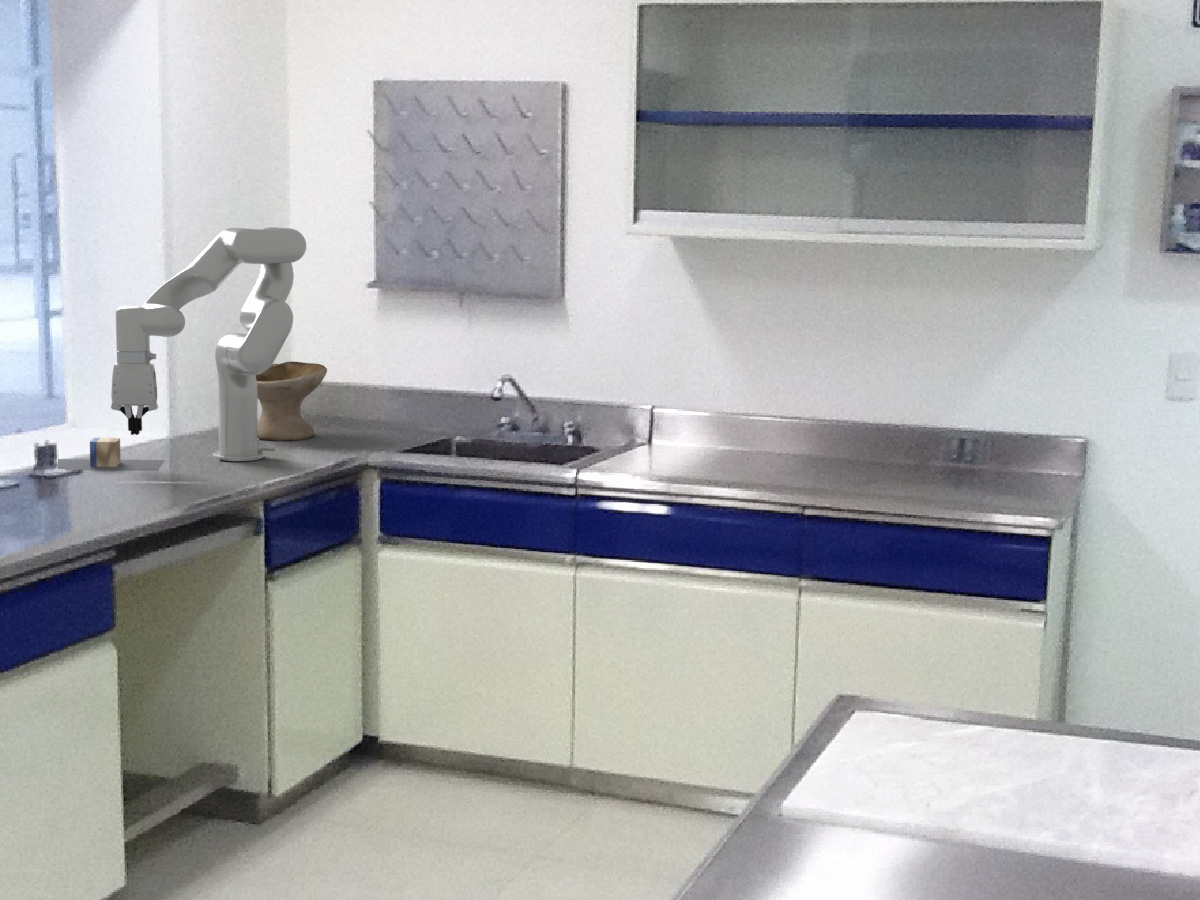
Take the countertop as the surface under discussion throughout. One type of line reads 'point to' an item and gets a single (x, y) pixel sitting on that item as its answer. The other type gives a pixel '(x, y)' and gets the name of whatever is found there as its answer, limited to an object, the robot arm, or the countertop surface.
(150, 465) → the mat
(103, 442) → the cube
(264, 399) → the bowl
